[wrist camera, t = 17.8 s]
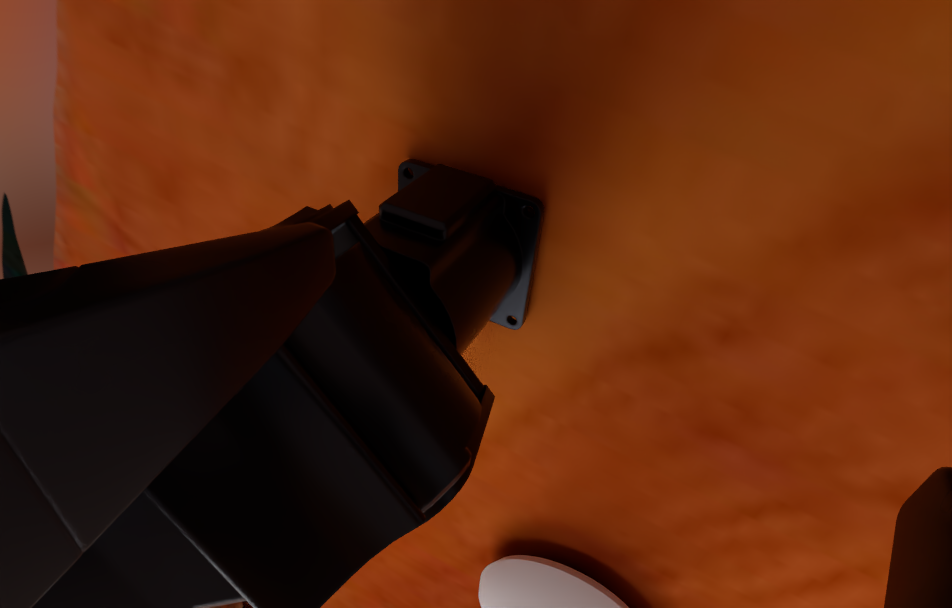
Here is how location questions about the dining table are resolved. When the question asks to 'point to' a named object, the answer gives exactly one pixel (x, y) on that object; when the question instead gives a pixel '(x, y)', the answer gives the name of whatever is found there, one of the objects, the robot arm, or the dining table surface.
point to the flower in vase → (540, 586)
